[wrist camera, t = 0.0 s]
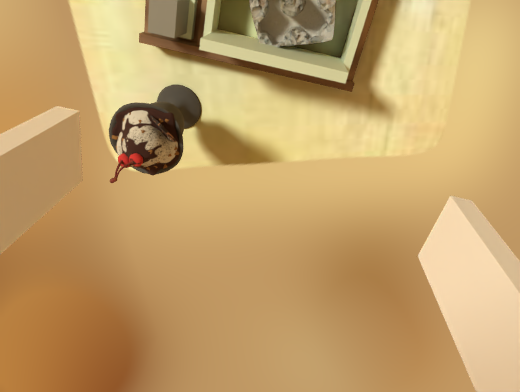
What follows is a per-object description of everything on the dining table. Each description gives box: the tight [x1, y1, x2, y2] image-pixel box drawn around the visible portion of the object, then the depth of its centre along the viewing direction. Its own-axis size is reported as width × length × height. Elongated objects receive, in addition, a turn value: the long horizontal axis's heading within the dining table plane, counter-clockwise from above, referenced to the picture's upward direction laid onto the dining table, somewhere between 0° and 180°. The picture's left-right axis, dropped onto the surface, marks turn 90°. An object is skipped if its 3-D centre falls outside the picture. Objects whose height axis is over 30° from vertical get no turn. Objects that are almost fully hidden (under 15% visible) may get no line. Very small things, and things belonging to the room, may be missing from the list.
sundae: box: [109, 85, 201, 183], centre depth 35 cm, size 7×7×15 cm
